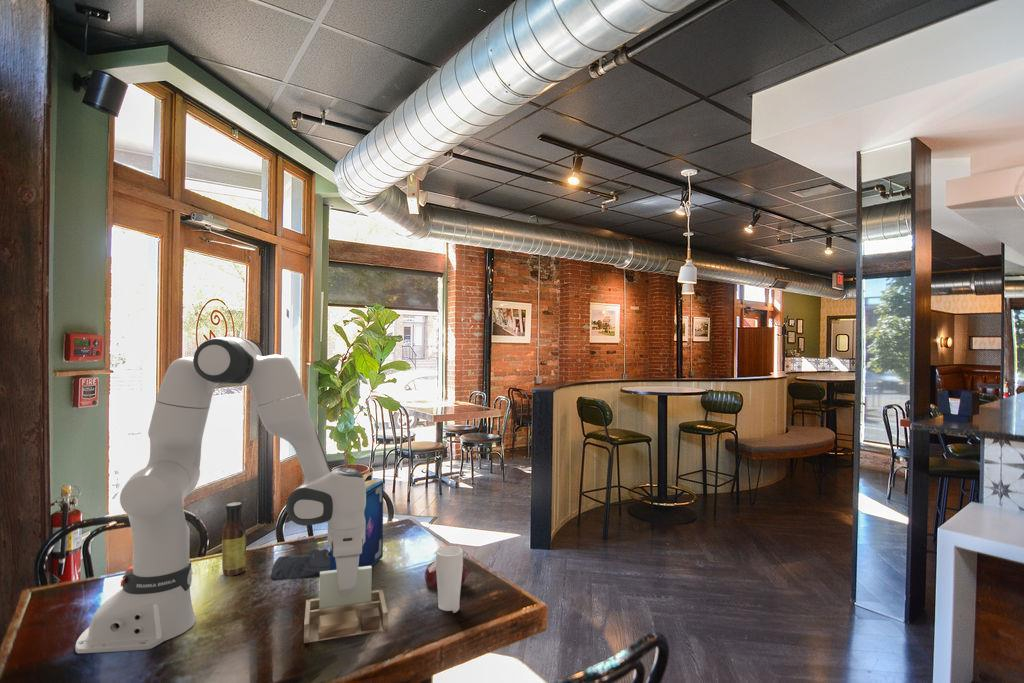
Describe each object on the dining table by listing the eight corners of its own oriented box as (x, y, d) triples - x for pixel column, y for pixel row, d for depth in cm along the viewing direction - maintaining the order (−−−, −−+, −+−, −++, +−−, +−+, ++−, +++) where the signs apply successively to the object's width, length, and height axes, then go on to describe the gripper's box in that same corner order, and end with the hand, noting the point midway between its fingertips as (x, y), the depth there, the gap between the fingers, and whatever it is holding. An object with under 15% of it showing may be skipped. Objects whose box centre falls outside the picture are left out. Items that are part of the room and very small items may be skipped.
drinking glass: (451, 601, 139) (452, 543, 139) (467, 610, 134) (468, 551, 134) (429, 609, 134) (430, 550, 134) (446, 619, 129) (447, 558, 129)
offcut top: (320, 633, 117) (320, 626, 117) (319, 622, 122) (319, 616, 122) (357, 626, 121) (358, 619, 121) (355, 616, 125) (355, 609, 125)
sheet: (318, 620, 126) (319, 574, 126) (319, 617, 127) (319, 571, 127) (371, 613, 130) (371, 568, 130) (370, 610, 131) (371, 565, 131)
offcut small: (361, 631, 121) (361, 618, 121) (360, 622, 125) (360, 610, 125) (379, 628, 123) (379, 615, 123) (377, 620, 126) (378, 607, 126)
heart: (419, 577, 151) (426, 597, 142) (421, 552, 150) (428, 570, 141) (460, 573, 155) (469, 592, 146) (462, 548, 154) (471, 565, 145)
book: (348, 590, 144) (350, 498, 145) (325, 587, 146) (327, 496, 146) (383, 559, 165) (384, 479, 166) (362, 557, 167) (364, 477, 167)
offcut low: (318, 639, 118) (318, 632, 118) (318, 628, 122) (318, 621, 122) (355, 633, 120) (355, 626, 120) (354, 622, 125) (354, 616, 125)
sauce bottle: (250, 571, 156) (251, 503, 156) (229, 578, 150) (230, 508, 150) (237, 565, 159) (239, 499, 159) (216, 573, 154) (218, 504, 154)
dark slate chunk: (277, 562, 163) (277, 546, 164) (351, 555, 169) (351, 541, 169) (267, 583, 149) (268, 566, 149) (349, 576, 154) (349, 559, 154)
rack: (303, 648, 116) (304, 624, 116) (305, 621, 128) (306, 599, 128) (387, 634, 122) (387, 612, 122) (382, 610, 133) (382, 589, 134)
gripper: (332, 523, 137) (331, 576, 137) (333, 552, 118) (332, 614, 118) (357, 521, 139) (356, 573, 139) (362, 549, 120) (361, 610, 120)
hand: (345, 593), depth 128 cm, fingers closed on sheet, 2 cm apart
